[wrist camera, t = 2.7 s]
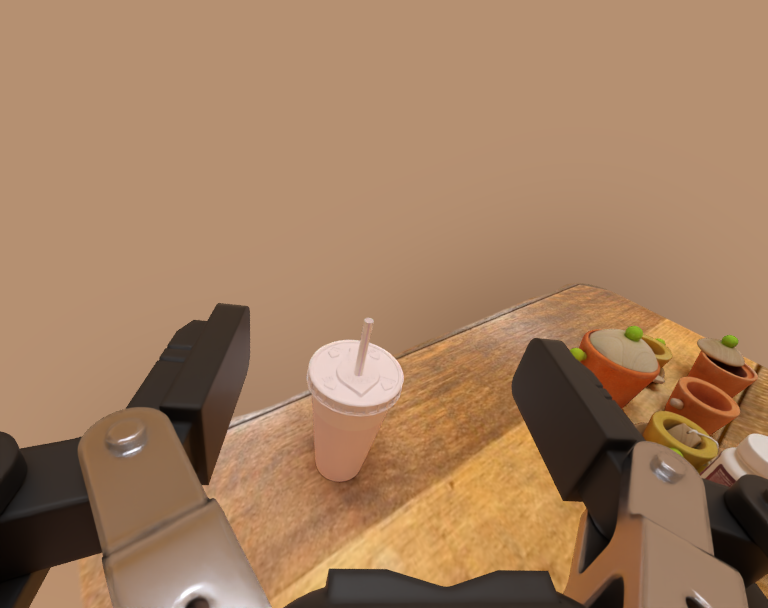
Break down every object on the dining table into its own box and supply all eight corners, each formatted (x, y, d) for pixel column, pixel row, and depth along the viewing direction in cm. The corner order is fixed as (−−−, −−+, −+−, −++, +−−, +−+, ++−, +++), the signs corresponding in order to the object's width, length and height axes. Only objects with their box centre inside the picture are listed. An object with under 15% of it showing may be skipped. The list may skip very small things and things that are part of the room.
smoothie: (295, 501, 27) (313, 347, 20) (298, 427, 32) (313, 283, 25) (384, 497, 28) (432, 352, 21) (373, 426, 34) (407, 291, 26)
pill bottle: (749, 561, 30) (837, 500, 25) (681, 525, 31) (752, 461, 27) (734, 511, 33) (808, 450, 29) (673, 481, 35) (735, 419, 31)
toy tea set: (692, 513, 32) (775, 439, 27) (535, 393, 42) (575, 321, 36) (750, 401, 48) (809, 341, 43) (627, 332, 57) (663, 276, 52)
